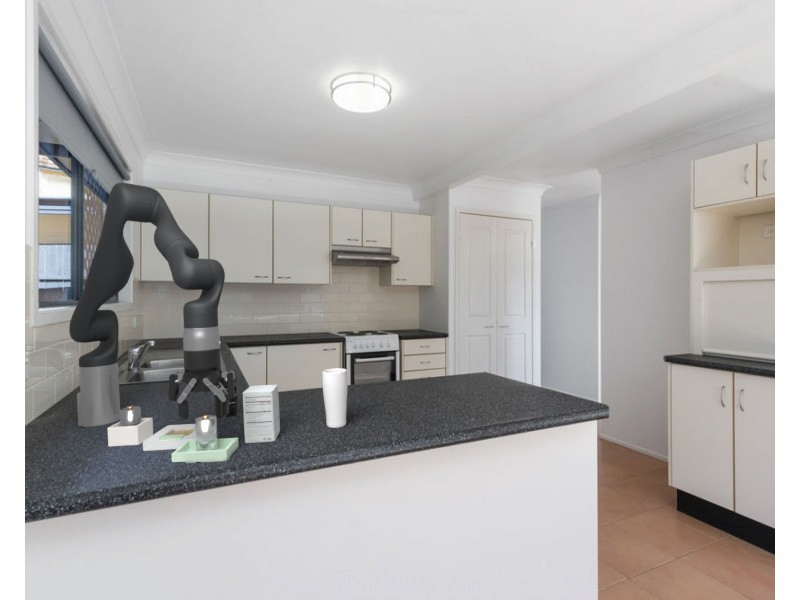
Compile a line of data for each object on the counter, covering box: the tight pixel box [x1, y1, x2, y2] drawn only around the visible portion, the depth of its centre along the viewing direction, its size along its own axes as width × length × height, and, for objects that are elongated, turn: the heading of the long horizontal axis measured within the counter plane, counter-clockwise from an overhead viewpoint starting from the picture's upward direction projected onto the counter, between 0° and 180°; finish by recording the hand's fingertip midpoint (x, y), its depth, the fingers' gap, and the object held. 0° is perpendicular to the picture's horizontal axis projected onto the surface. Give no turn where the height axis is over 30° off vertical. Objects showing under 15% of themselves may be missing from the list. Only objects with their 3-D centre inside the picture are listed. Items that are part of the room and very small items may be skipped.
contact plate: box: [170, 430, 195, 436], centre depth 103 cm, size 6×6×1 cm
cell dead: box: [119, 405, 142, 427], centre depth 104 cm, size 4×4×9 cm
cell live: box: [194, 414, 218, 451], centre depth 94 cm, size 4×4×9 cm
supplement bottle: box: [213, 377, 240, 419], centre depth 124 cm, size 7×7×12 cm
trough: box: [171, 437, 240, 464], centre depth 94 cm, size 12×8×2 cm
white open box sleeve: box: [107, 417, 154, 447], centre depth 104 cm, size 7×7×5 cm
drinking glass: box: [321, 367, 349, 429], centre depth 112 cm, size 7×7×15 cm
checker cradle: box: [142, 423, 196, 452], centre depth 103 cm, size 12×12×3 cm
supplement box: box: [242, 384, 281, 444], centre depth 104 cm, size 7×7×13 cm
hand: (204, 417), depth 94 cm, fingers open, 8 cm apart
